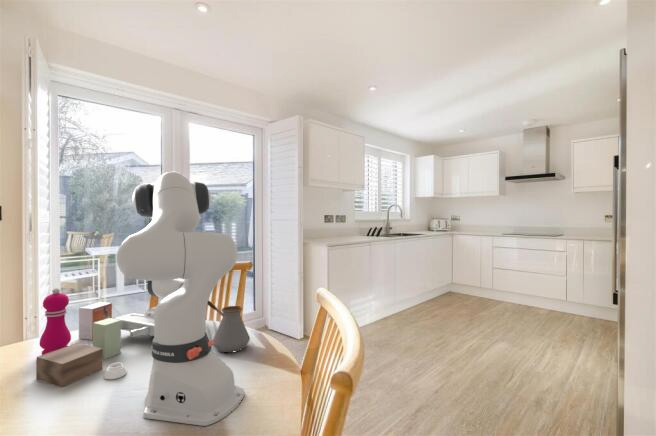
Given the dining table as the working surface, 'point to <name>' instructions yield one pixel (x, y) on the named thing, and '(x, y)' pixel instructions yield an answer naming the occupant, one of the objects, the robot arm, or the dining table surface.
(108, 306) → the small box
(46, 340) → the pepper mill
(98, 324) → the sage block
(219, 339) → the coffee pot
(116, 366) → the white hollow cone
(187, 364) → the robot arm
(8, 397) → the dining table surface
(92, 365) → the walnut block
